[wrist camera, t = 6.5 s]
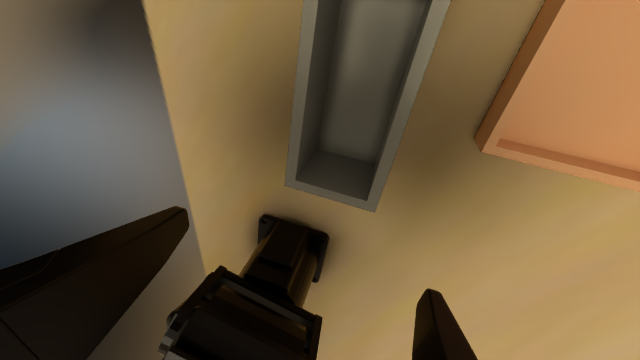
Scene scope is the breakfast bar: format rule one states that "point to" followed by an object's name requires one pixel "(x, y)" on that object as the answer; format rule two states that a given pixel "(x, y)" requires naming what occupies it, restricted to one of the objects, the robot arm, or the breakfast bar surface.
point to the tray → (573, 94)
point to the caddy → (356, 92)
